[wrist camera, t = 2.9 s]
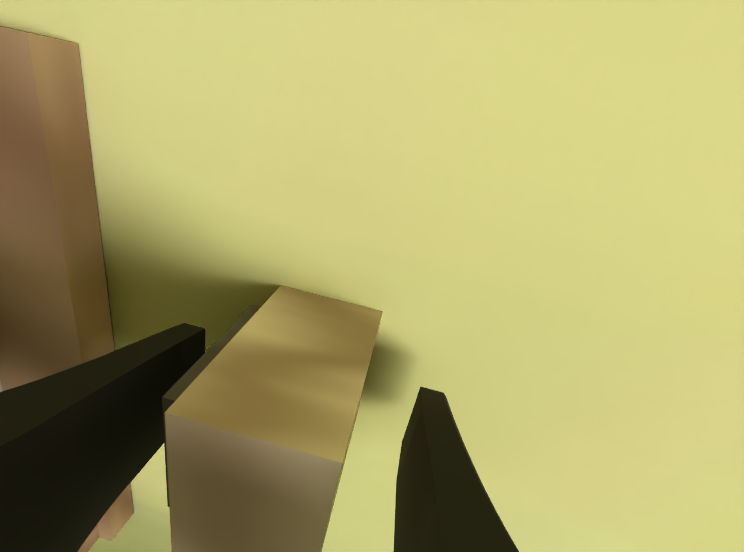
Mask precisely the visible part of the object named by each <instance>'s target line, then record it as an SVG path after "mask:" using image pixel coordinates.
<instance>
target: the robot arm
mask: <svg viewBox="0 0 744 552" xmlns="http://www.w3.org/2000/svg"><path fill="white" fill-rule="evenodd" d="M204 353H205V329H204V328H200V327H197V326H193V325H189V324H185V323H183V324H180V325H178V326H175V327H172V328H170V329H167V330H165V331H162V332H160V333H157V334H155V335H152V336H150V337H147V338H145V339H143V340H140V341H138V342H135V343H133V344H130V345H128V346H126V347H123V348H121V349H118V350H116V351H113V352H111V353H108V354H106V355H103V356H101V357H98V358H96V359H93V360H91V361H88V362H85V363H82V364H80V365H77V366H74V367H72V368H69V369H66V370H63V371H61V372H58V373H55V374H53V375H50V376H47V377H44V378H42V379H39V380H36V381H33V382H30V383H27V384H24V385H21V386H18V387H15V388H12V389H8V390H5V391H2V392H0V552H78V550H79V549H80V547H81V546H82V545H83V543H84V542H85V540H86V539H87V538H88V536H89V535H90V533H91V532H92V531H93V529H94V528H95V526H96V525H97V524H98V522H99V521H100V519H101V518H102V517H103V515H104V514H105V513H106V512H107V510H108V509H109V508H110V507H111V505H112V504H113V503H114V502H115V500H116V499H117V498H118V497H119V495H120V494H121V493H122V492H123V491H124V489H125V488H126V487H127V486H128V485H129V484H130V482H131V481H132V480H133V479H134V478H135V476H136V475H137V474H138V473H139V472H140V471H141V469H142V468H143V467H144V466H145V465H146V463H147V462H148V461H149V460H150V459H151V458H152V456H153V455H154V454H155V453H156V452H157V450H158V449H159V448H160V447H161V446H162V444H163V443H164V426H163V407H162V397H163V396H164V395H165V394H166V393H167V391H168V390H169V389H170V388H171V387H172V386H173V385H174V384H175V383H176V382H177V381H178V380H179V379H180V378H181V377H182V376H183V375H184V374H185V373H186V372H187V371H188V370H189V369H190V368H191V367H192V366H193V365H194V364H195V363H196V362H197V361H198V360H199V359H200V358H201V357H202V356H203V355H204ZM394 552H519V551H518V549H517V547H516V546H515V544H514V542H513V541H512V539H511V537H510V535H509V534H508V532H507V530H506V528H505V527H504V525H503V523H502V521H501V519H500V517H499V516H498V514H497V512H496V510H495V508H494V506H493V504H492V502H491V500H490V498H489V496H488V494H487V492H486V490H485V488H484V486H483V484H482V482H481V480H480V478H479V476H478V474H477V472H476V469H475V467H474V465H473V463H472V461H471V458H470V456H469V454H468V452H467V450H466V447H465V445H464V443H463V440H462V438H461V435H460V433H459V430H458V428H457V425H456V423H455V420H454V418H453V415H452V412H451V409H450V407H449V404H448V401H447V398H446V396H445V395H444V393H442V392H438V391H435V390H431V389H427V388H424V387H420V390H419V393H418V396H417V399H416V402H415V405H414V408H413V411H412V414H411V417H410V420H409V423H408V426H407V429H406V432H405V435H404V438H403V441H402V446H401V453H400V460H399V467H398V474H397V483H396V507H395V533H394Z"/></svg>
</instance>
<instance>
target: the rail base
mask: <svg viewBox="0 0 744 552" xmlns="http://www.w3.org/2000/svg"><path fill="white" fill-rule="evenodd" d="M113 351H115V350H114V342H113V333H112V325H111V316H110V308H109V300H108V291H107V283H106V274H105V266H104V258H103V249H102V241H101V232H100V224H99V215H98V207H97V199H96V190H95V182H94V173H93V165H92V156H91V148H90V140H89V131H88V123H87V114H86V106H85V98H84V89H83V81H82V72H81V64H80V55H79V47H78V43H74V42H70V41H65V40H61V39H56V38H52V37H47V36H43V35H39V34H34V33H30V32H25V31H21V30H16V29H12V28H8V27H3V26H0V392H2V391H5V390H8V389H12V388H15V387H18V386H21V385H24V384H27V383H30V382H33V381H36V380H39V379H42V378H44V377H47V376H50V375H53V374H55V373H58V372H61V371H63V370H66V369H69V368H72V367H74V366H77V365H80V364H82V363H85V362H88V361H91V360H93V359H96V358H98V357H101V356H103V355H106V354H108V353H111V352H113ZM133 513H134V510H133V502H132V493H131V485H130V484H129V485H128V486H127V487H126V488H125V489H124V491H123V492H122V493H121V494H120V495H119V497H118V498H117V499H116V500H115V502H114V503H113V504H112V505H111V507H110V508H109V509H108V510H107V512H106V513H105V514H104V515H103V517H102V518H101V519H100V521H99V522H98V524H97V525H96V526H95V528H94V529H93V531H92V532H91V533H90V535H89V536H88V538H87V539H86V540H85V542H84V543H83V545H82V546H81V547H80V549H79V550H78V552H88V551H89V549H90V548H91V547H92V546H93V544H94V543H95V542H96V541H97V539H98V538H99V537H100V538H103V539H107V540H110V541H113V539H114V538H115V537H116V535H117V534H118V533H119V531H120V530H121V529H122V528H123V526H124V525H125V524H126V522H127V521H128V520H129V518H130V517H131V516H132V514H133Z"/></svg>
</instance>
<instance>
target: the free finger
mask: <svg viewBox="0 0 744 552" xmlns="http://www.w3.org/2000/svg"><path fill="white" fill-rule="evenodd" d="M381 316H382V311H378V310H374V309H370V308H367V307H363V306H359V305H355V304H351V303H347V302H343V301H340V300H336V299H332V298H328V297H324V296H320V295H316V294H312V293H309V292H305V291H301V290H297V289H293V288H289V287H285V286H280V287H279V288H278V289H277V290H276V291H275V292H274V293H273V295H272V296H271V297H270V298H269V299H268V300H267V301H266V302H265V303H264V304H263V306H262V307H261V308H259V307H255V306H250V307H249V308H248V309H247V310H246V311H245V312H244V313H243V314H242V315H241V317H240V318H239V319H238V320H237V321H236V322H235V323H234V324H233V325H232V326H231V327H230V328H229V329H228V330H227V331H226V332H225V333H224V334H223V335H222V336H221V337H220V338H219V339H218V340H217V341H216V342H215V343H214V344H213V345H212V346H211V347H210V348H209V349H208V350H207V351H206V352H205V353H204V355H203V356H202V357H201V358H200V359H199V360H198V361H197V362H196V363H195V364H194V365H193V366H192V367H191V368H190V369H189V370H188V371H187V372H186V373H185V374H184V375H183V376H182V377H181V378H180V379H179V380H178V381H177V382H176V383H175V384H174V385H173V386H172V387H171V388H170V389H169V390H168V391H167V393H166V394H165V395H164V396H163V397H162V407H163V426H164V444H165V463H166V482H167V500H168V507H170V525H171V545H172V552H321V551H322V547H323V543H324V539H325V535H326V532H327V528H328V524H329V520H330V516H331V512H332V508H333V505H334V501H335V497H336V493H337V489H338V485H339V482H340V478H341V474H342V470H343V466H344V462H345V458H346V455H347V451H348V447H349V443H350V439H351V435H352V431H353V428H354V424H355V420H356V416H357V412H358V408H359V404H360V400H361V396H362V392H363V388H364V384H365V380H366V376H367V372H368V368H369V364H370V360H371V356H372V352H373V348H374V344H375V340H376V336H377V332H378V328H379V324H380V320H381Z"/></svg>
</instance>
